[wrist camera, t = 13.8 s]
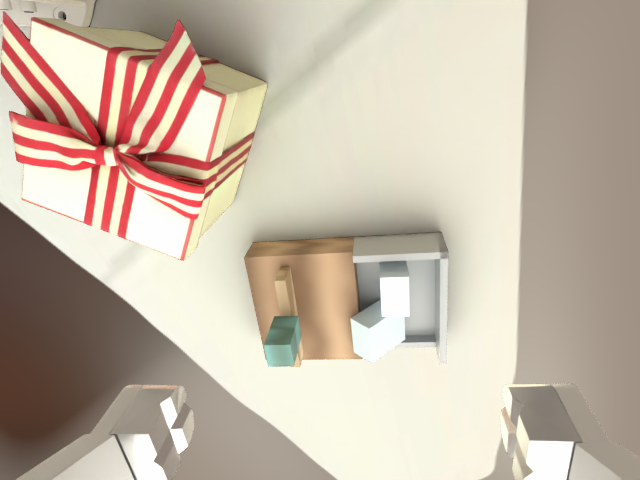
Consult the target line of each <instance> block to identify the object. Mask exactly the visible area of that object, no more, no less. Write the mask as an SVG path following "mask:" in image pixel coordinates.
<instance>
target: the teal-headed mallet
mask: <svg viewBox="0 0 640 480" xmlns="http://www.w3.org/2000/svg"><path fill="white" fill-rule="evenodd" d="M275 287H276V292H277V298H278V303H279V308H280V314H281V316H274V318H273V321H272V323H271V326H270V329H269V332H268V335H267V337H266V340H265V343H264V349H265V354H266V359H267V363H268V366H290V367H300V365H301V361H302V356H303V352H304V348H303V342H302V335H301V329H300V323H299V317H298V312H297V306H296V299H295V293H294V287H293V281H292V275H291V269H290V267H280V269H279V271H278V274H277V276H276V278H275Z"/></svg>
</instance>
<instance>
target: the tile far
mask: <svg viewBox="0 0 640 480" xmlns="http://www.w3.org/2000/svg"><path fill="white" fill-rule="evenodd" d="M350 319H351V329H352V339H353V349H354V353H356V354H357V355H359V356H360V357H362V358H364V359H365V360H367V361H368V362H370V363H371V364H372V363H374V362H375V361H376V360H378V359H379V358H380V357H382V356H383V355H385V354H386V353H387V352H389V351H390V350H391V349H393V348H394V347H395V346H397V345H398V344H399V343H401V342H402V341H403V340H405V317H382V312H381V299H380V300H379V301H377V302H376V303H374V304H372V305H371V306H369V307H368V308H366V309H365V310H363V311H361V312H360V313H358V314H357V315H355V316H353V317H352V318H350Z"/></svg>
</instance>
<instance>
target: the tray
mask: <svg viewBox="0 0 640 480" xmlns="http://www.w3.org/2000/svg"><path fill="white" fill-rule="evenodd" d="M405 260H406V261H407V268H408V274H409V317H405V340H403V341H402V342H401V343H399V344H398V345H397V346H395V347H394V348H418V347H436V349H437V354H438V358H439V363H440V364H447V304H448V249H447V247H446V244H445V241H444V238H443V235H442V233H441V232H433V233H415V234H397V235H379V236H361V237H354V247H353V263H356V265H357V276H358V288H359V299H360V310H361V311H363V310H365V309H366V308H368V307H369V306H371V305H372V304H374V303H376V302H377V301H379V300H380V299H381V290H380V264H379V262H384V261H405Z"/></svg>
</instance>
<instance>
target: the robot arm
mask: <svg viewBox="0 0 640 480" xmlns="http://www.w3.org/2000/svg"><path fill="white" fill-rule="evenodd" d="M95 1H96V0H0V24H3V11H5V12H6V13H7V15H8V16H9V17H10V18H11V19H12V20H13V21H14V23H15V24H16V25H17V26H27V27H31V17H43V18H55V19H60V20H63V21H65V22H67V23H70V24H72V25H74V26H79V27H88V26H89V24H90V22H91V18H92V14H93V9H94V4H95ZM63 13H65V14H66V20H65V19H64V18H63ZM186 398H187V394H186V392H185V389H184V387H182V386H169V385H128V386H126V387H125V388H123V390H122V391H121V392H120V394H119V395H118V396H117V398H116V399H115V400H114V402H113V403H112V405H111V406H110V407H109V409H108V410H107V412H106V413H105V414H104V416H103V417H102V418H101V420H100V421H99V423H98V424H97V425H96V427H95V428H94V429H93V431H92V432H91V434H88V435H86V434H85V435H83V436H81V437H80V438H78V439H77V440H75V441H74V442H72V443H71V444H69V445H68V446H66V447H65V448H63V449H62V450H60V451H59V452H57V453H56V454H54V455H53V456H51V457H49V458H48V459H46V460H45V461H43V462H42V463H40V464H39V465H37V466H36V467H34V468H33V469H31V470H30V471H28V472H27V473H25V474H24V475H22V476H21V477H19V478H18V479H16V480H172V479H173V477H174V475H175V473H176V471H177V469H178V466H179V464H180V462H181V461H180V457H179V453H180V452H181V451H183V450H184V449H185V448H186V447H187V446H188V445H189V442H190V440H191V437H192V433H193V429H194V415H193V412H192V409H191V408H190V407H189V406H187V405H186V404H185V403H184V402H185V400H186ZM502 398H503V401H504V404H505V407H504V408H503V409H502V410H501V418H500V423H501V434H502V438H503V443H504V446H505V449H506V452H507V454H509V455H510V456H511V457H512V458H513V459H514V461H513V474H514V477H515V480H640V458H639V457H638V456H636V455H635V454H633V453H632V452H630V451H629V450H627V449H626V448H625V447H623V446H622V445H620V444H614V443H611V442H610V440H609V438H608V437H607V435H606V433H605V432H604V430H603V429H602V427H601V425H600V424H599V422H598V420H597V419H596V417H595V415H594V414H593V412H592V410H591V409H590V407H589V405H588V404H587V402H586V400H585V399H584V397H583V395H582V394H581V392H580V391H579V389H578V387H577V386H576V385H574V384H518V385H517V384H516V385H514V384H510V385H504V387H503V393H502Z"/></svg>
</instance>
